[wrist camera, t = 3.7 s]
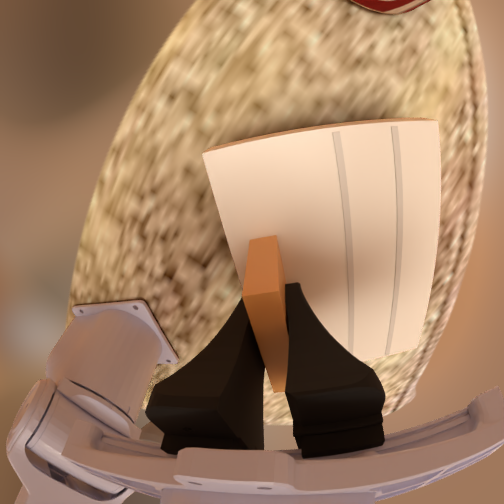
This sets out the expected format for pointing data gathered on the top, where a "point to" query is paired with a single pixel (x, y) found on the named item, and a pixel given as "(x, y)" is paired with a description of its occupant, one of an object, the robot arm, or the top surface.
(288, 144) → the lid
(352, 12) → the top surface
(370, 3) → the soda can
